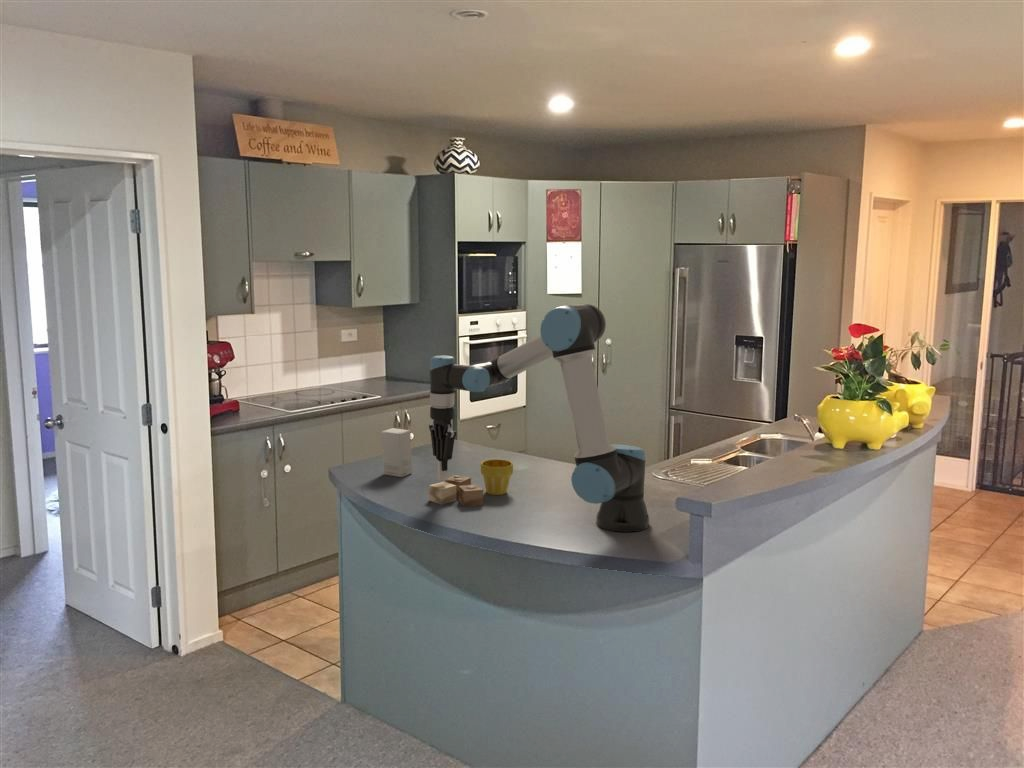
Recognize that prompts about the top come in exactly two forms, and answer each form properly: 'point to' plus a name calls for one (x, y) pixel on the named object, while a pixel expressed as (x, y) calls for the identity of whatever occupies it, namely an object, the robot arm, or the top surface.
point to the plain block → (442, 492)
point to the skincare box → (396, 452)
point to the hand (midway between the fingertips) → (442, 480)
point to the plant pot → (496, 475)
